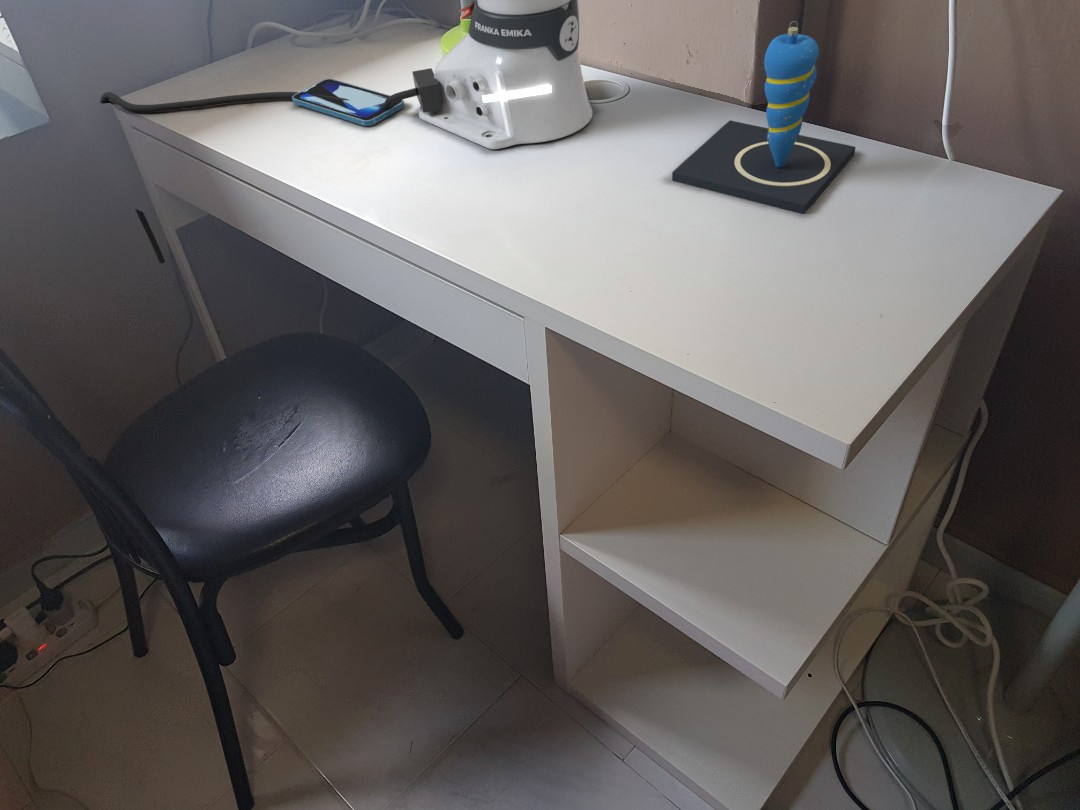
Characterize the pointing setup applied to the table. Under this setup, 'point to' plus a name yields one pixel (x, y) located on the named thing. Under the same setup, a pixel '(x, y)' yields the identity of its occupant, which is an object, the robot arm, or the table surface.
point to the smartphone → (346, 102)
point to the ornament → (788, 89)
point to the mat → (764, 167)
